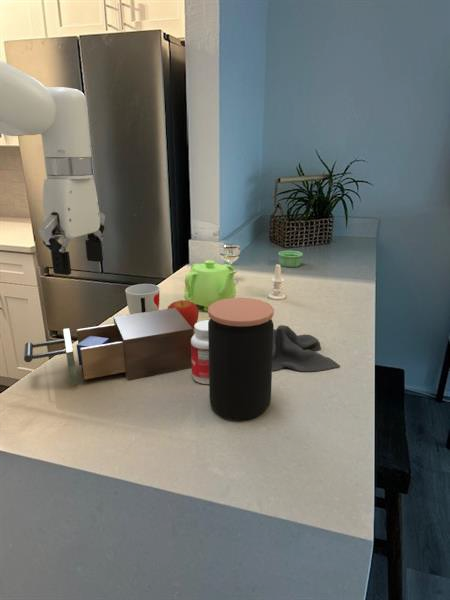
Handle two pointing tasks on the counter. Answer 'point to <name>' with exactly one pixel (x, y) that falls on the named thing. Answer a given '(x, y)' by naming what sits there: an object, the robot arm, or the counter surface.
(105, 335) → the brown drawer with handle
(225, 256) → the wineglass
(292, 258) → the ramekin
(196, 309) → the apple
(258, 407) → the coffee jar
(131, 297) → the cup
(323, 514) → the counter surface
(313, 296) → the counter surface
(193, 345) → the pill bottle
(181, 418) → the counter surface
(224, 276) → the teapot
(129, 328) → the cabinet
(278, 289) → the cream tower figurine
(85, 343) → the matte blue cube
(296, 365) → the cloth
